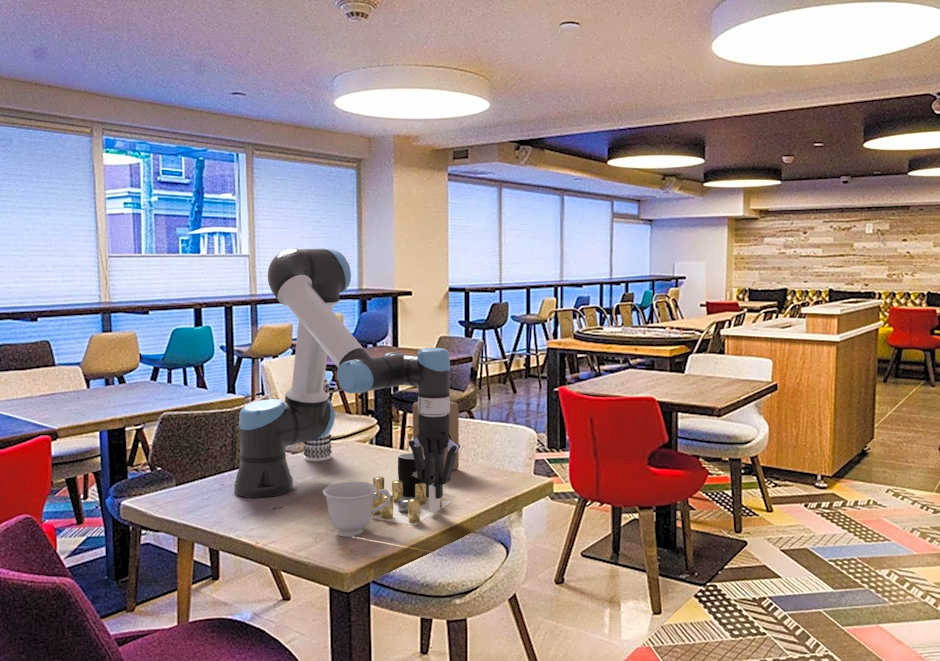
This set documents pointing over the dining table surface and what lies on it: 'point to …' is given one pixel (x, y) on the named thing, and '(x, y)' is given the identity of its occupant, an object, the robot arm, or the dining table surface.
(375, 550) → the dining table surface
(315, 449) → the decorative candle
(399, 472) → the mug
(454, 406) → the block
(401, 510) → the silver dome
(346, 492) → the teacup
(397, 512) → the tray
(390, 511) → the spacers
